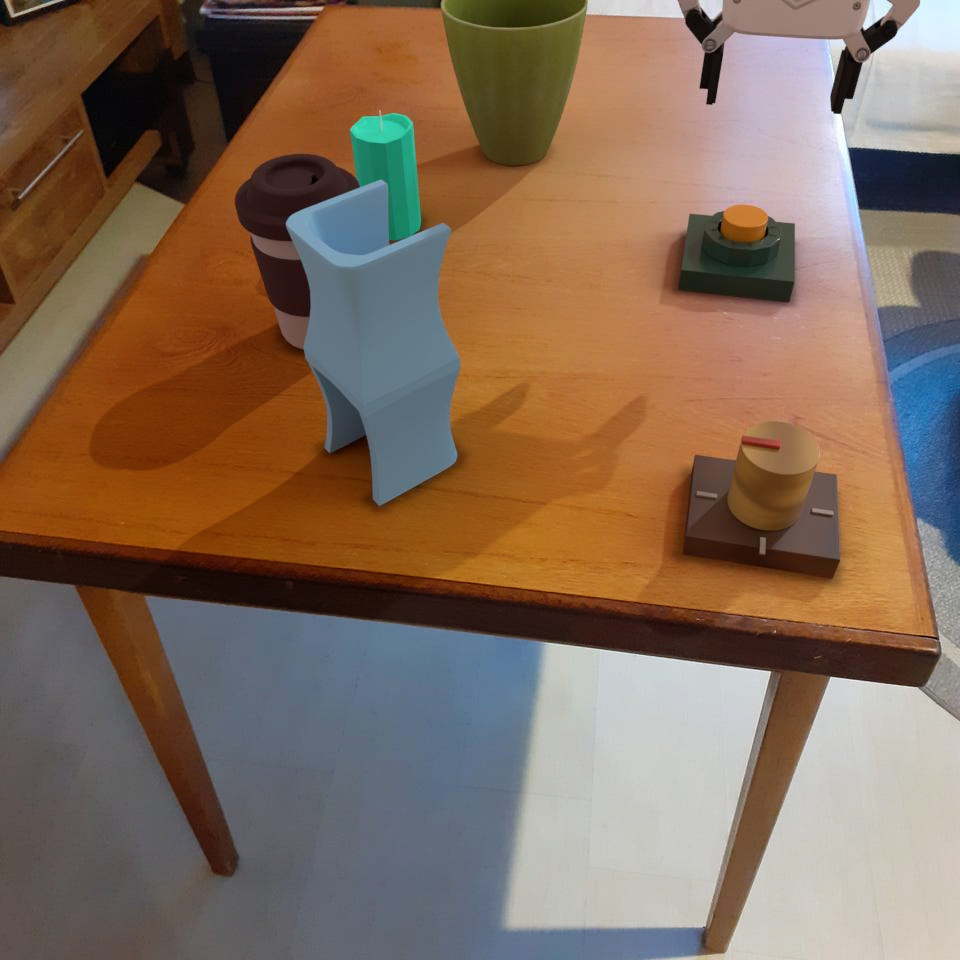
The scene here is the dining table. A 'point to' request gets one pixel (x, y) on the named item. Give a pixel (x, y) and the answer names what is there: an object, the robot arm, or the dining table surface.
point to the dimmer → (731, 540)
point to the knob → (772, 475)
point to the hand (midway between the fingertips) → (772, 101)
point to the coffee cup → (265, 214)
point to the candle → (390, 167)
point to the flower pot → (514, 70)
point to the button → (744, 223)
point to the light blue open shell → (379, 336)
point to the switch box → (738, 261)
